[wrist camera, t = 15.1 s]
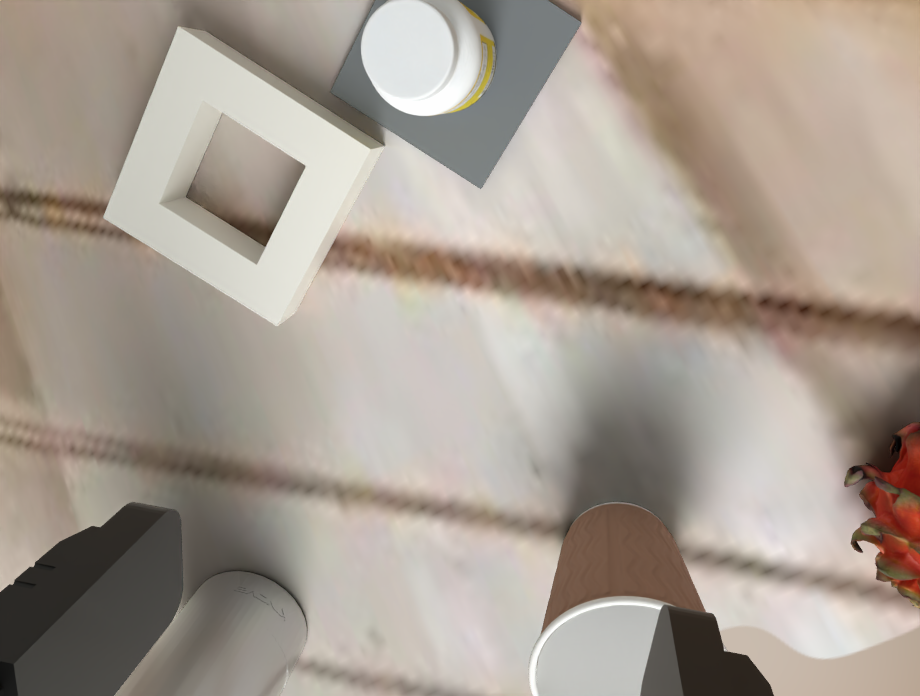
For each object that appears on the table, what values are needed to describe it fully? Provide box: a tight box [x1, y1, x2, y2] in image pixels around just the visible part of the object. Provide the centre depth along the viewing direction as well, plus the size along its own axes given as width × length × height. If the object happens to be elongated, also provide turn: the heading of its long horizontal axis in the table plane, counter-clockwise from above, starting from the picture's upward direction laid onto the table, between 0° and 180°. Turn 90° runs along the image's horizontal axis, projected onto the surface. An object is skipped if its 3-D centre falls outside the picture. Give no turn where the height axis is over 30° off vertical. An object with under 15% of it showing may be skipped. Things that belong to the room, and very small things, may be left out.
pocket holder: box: [103, 26, 385, 326], centre depth 42 cm, size 12×12×3 cm
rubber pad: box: [331, 0, 581, 189], centre depth 39 cm, size 10×10×1 cm
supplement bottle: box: [361, 0, 497, 116], centre depth 34 cm, size 5×5×10 cm
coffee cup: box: [529, 502, 728, 696], centre depth 42 cm, size 10×10×12 cm
